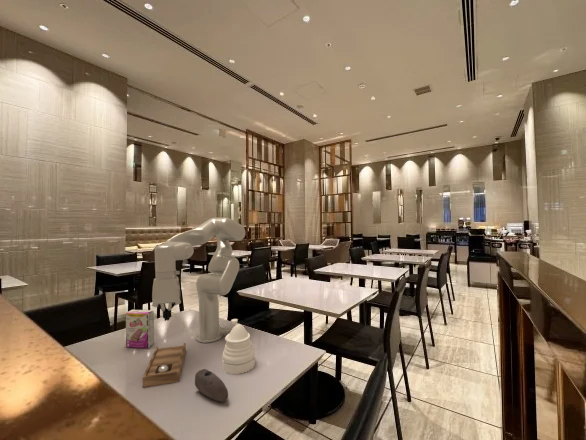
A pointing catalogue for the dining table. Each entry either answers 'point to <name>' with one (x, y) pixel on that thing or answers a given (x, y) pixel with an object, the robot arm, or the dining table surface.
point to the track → (165, 357)
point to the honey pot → (238, 350)
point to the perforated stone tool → (211, 385)
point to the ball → (163, 369)
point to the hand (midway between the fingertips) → (167, 319)
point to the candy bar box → (139, 328)
